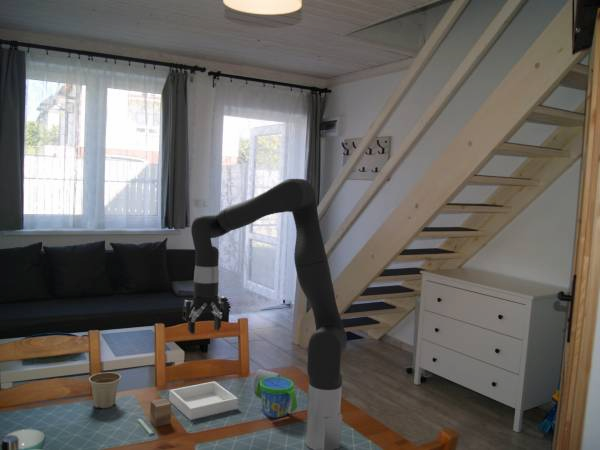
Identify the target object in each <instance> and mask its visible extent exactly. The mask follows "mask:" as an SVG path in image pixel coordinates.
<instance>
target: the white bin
mask: <svg viewBox="0 0 600 450" xmlns="http://www.w3.org/2000/svg"><path fill="white" fill-rule="evenodd" d="M168 393H169V396H168V397H169V398H168V401H169V402H170V403H171V405H172V404H173V406H174V407H176V409H178V411H180V412H181V413H182V414H183V415H184V416H185V417H186V418H187V419H188V420H189V421H191V420H192V421H193V420H196V419H201V418H205V417H210V416H215V415H218V414H222V413H225V412H229V411H235V410H238V401H239V399H238V398H239V397H237V396H236V395H235V394H233V393H231V391H228V390H227V389H226V388H224V387H223V386H221V384H219V383H218V382H217V381H215V380H214V381H209V382H204V383H198V384H194V385H188V386H183V387H178V388H173V389H169V392H168Z"/></svg>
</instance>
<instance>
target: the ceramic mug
mask: <svg viewBox="0 0 600 450" xmlns="http://www.w3.org/2000/svg"><path fill="white" fill-rule="evenodd" d="M268 377H282V376H281V375H280V374H279V373H277V372H273V371H268V370H264V369H260V368H259V369H258V370H257V371H256V373H255V375H254V381H253V391H254V393H256V389H257V385H258V383H259V381H261V380H263V379H264V378H268Z"/></svg>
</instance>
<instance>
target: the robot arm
mask: <svg viewBox="0 0 600 450" xmlns="http://www.w3.org/2000/svg"><path fill="white" fill-rule="evenodd" d="M287 212H289V213H292V216H293V220H294V224H295V230H296V234H295V246H294V253H293V255H294V256H293V257H294V267H295V270H296V275H297V279H298V284H299V287H301V288H300V289H301V290H302V293H303V294H304V296H305V297H306V299H307V301H308V303H309V305H310V307H311V310H312V314H313V317H314V324H315V331H314V332H313V333H312V334H311V336H310V338H309V340H308V345H307V346H308V347H307V364H306V365H307V375H308V390H307V407H306V423H305V439H304V440H305V441H304V442H305V446H307V447H308V448H309V449H310V450H336V449H340V448H341V443H342V442H341V440H342V427H343V426H342V425H343V414H342V413H341V403H342V401H341V400H342V389H343V375H342V373H341V356H342V354H343V353H344V351H345V350H346V349H347V343H348V337H347V333H346V329H345V327H344V324H343V321H342V318H341V315H340V313H339V309H338V305H337V301H336V296H335V295H336V294H335V288H334V285H333V280H332V274H331V270H330V265H329V260H328V257H327V253H326V248H325V244H324V239H323V236H322V230H321V227H320V226H321V225H320V221H319V215H318V214H319V213H318V205H317V195H316V192H315V189H314V186H313V184H312V183H310V182H309V181H308V180H306V179H303V178H287V179H285V180H283V181H281V182H279V183H277V184H276V185H274V186H272V187H270V189H268V190H267V191H264V192H262V193H260V194H259V195H257V196H255V197H252V198H249V199H247V200H244V201H241V202H238V203H236V204H232V205H230V206H227V207H225V208H223V209H221V210H220V211H219V213H216V214H212V215H210V214H209V215H199V216H196V217H195V218H194V220H193V221H192V224H191V228H190V231H191V232H190V233H191V238H192V242H193V247H194V250H195V259H194V260H195V264H194V272H193V275H194V276H193V299H192V300H189V299H188V300H187V299H184V300H183V304H182V316H181V318H182V320H184V321H186V322H188V323H187V324H188V325H187V330H188V333H189V334H190V335H195V333H196V322H195V321H196V320H197V318H198V317H200V315H201V314H206V313H209V314H211V313H212V314H213V315H214V320H213V321H214V322H213V324H214V325H213V330H215V331H220V329H221V326H222V318H223V317H227V316H228V298H227V297H226V296H222V295H221V296H219V297H218V295H219V286H220V285H219V281H220V279H219V278H220V270H219V261H220V260H219V259H220V257H219V255H220V253H219V249H218V247H216V246H213V243H212V240H211V239H214V238H215V239H216V238H219V237H221V236H225V235H227V234H228V233H230V232H231V231H235V230H237V229H241V228H244V227H246V226H249V225H251V224H253V223H255V222H256V221H257V222H258V220H260V219H262V218H264V217H267V216H271V215H273V214H274V215H275V214H279V213H287ZM218 303H219V308H218V307H217V305H218ZM192 306H193V308H192ZM191 308H192V309H191Z"/></svg>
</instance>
